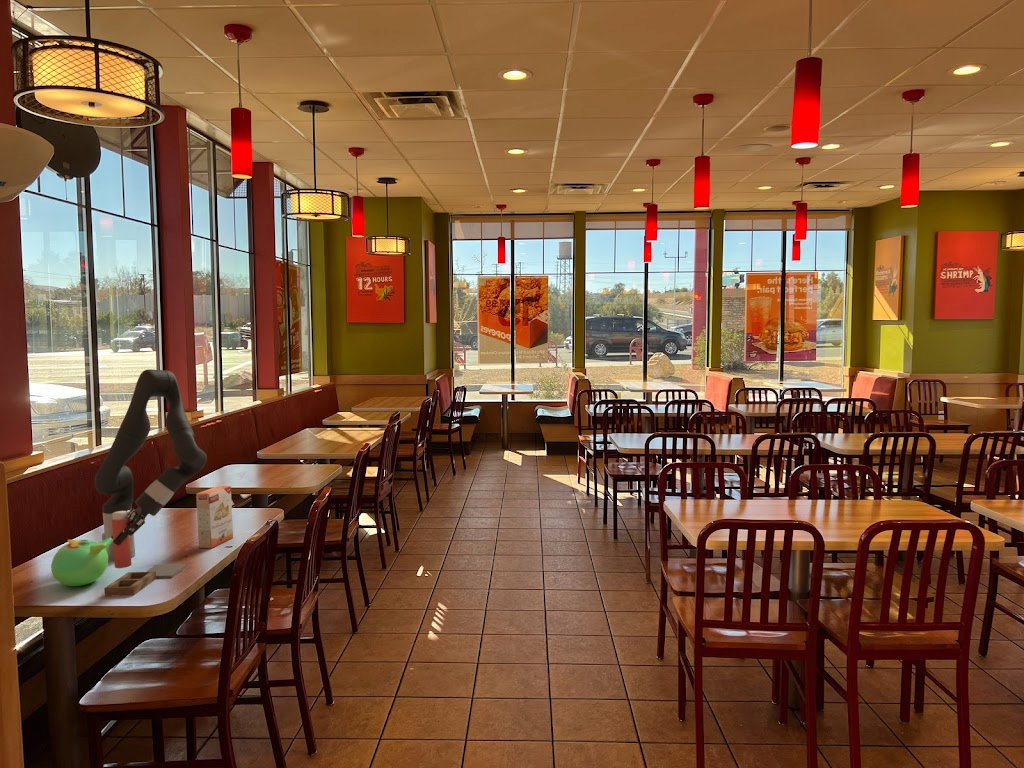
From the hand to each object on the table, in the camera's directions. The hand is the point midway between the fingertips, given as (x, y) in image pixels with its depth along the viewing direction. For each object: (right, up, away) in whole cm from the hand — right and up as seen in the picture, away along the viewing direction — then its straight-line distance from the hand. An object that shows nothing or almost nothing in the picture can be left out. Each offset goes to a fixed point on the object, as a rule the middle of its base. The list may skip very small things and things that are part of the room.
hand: (114, 541), depth 220 cm
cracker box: (+11, -12, +51) cm, 53 cm away
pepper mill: (+2, -8, +2) cm, 8 cm away
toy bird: (-16, -16, +11) cm, 25 cm away
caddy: (+2, -16, +6) cm, 17 cm away
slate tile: (+6, -15, +19) cm, 25 cm away
